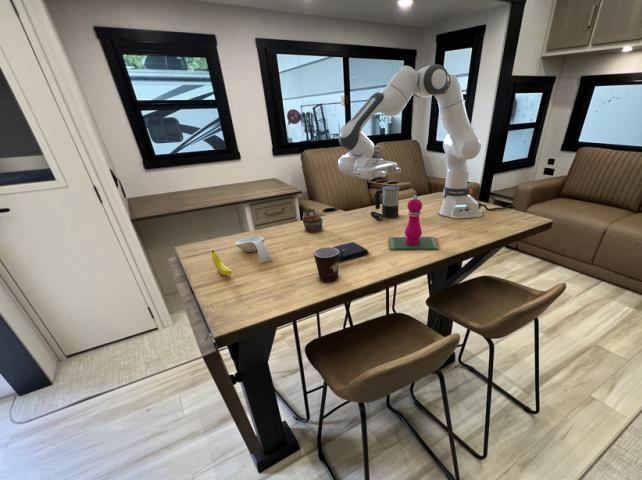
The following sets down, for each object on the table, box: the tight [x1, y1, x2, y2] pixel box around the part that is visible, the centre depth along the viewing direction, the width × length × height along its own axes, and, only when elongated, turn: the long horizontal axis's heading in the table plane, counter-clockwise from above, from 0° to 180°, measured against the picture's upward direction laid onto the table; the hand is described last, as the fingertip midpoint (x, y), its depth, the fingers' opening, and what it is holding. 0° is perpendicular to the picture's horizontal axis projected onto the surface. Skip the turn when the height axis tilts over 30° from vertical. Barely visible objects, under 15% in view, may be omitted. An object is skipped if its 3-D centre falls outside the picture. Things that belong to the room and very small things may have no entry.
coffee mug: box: [313, 246, 343, 284], centre depth 110 cm, size 12×9×10 cm
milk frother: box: [370, 185, 401, 221], centre depth 165 cm, size 14×16×15 cm
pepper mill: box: [404, 195, 423, 245], centre depth 132 cm, size 7×7×20 cm
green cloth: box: [389, 236, 439, 251], centre depth 137 cm, size 20×13×1 cm, turn 88°
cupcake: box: [301, 208, 324, 234], centre depth 152 cm, size 10×10×10 cm
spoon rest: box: [235, 236, 272, 264], centre depth 130 cm, size 24×12×7 cm, turn 36°
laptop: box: [332, 241, 370, 263], centre depth 129 cm, size 16×20×2 cm
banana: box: [211, 250, 233, 277], centre depth 115 cm, size 3×19×6 cm, turn 40°
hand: (392, 172), depth 130 cm, fingers open, 8 cm apart
